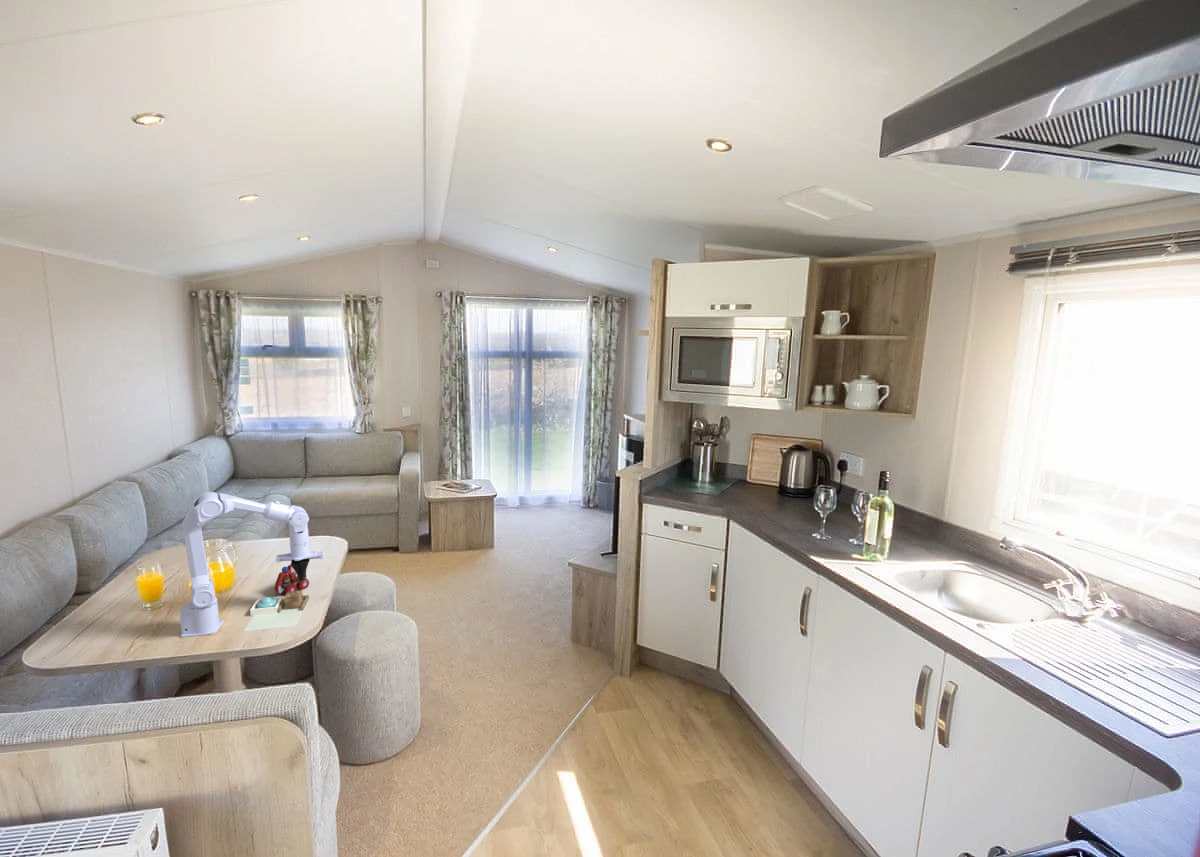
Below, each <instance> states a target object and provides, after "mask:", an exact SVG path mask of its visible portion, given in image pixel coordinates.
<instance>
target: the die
mask: <svg viewBox="0 0 1200 857" xmlns="http://www.w3.org/2000/svg"><path fill="white" fill-rule="evenodd" d="M303 596H304V595H303V590H301V589H300V590H296V591H289V592H287V594H286V593H285V595H284V596H283V599H284V601H285V610H288V609H299V608H300V607H301V605H302V603H303Z"/></svg>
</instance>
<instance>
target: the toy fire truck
mask: <svg viewBox="0 0 1200 857" xmlns="http://www.w3.org/2000/svg"><path fill="white" fill-rule="evenodd" d="M309 585H310V581H309V579H308V578H307V572H306V573H305V579H304V580H303V581H299V578H298V576H297V573H296V572H295V570H294V569H293V567H292V566H291V563H290V564H288V566H283V567H282V568H281V571H280V572H279V573H278V575H277V578H276V582H275V584H274V592H275V593H276V594H279V595H280V594H282V593H285V595H286V594H287V592H289V591H298V589H299V590H300V591H301V590H302V591H303V590H306V589H307V588H309Z"/></svg>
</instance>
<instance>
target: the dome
mask: <svg viewBox="0 0 1200 857" xmlns="http://www.w3.org/2000/svg"><path fill="white" fill-rule="evenodd" d="M275 598H276V597H268V596H266V597H264V598H261V599H262V600H260V601H258V603H257V607H258V608H268V607H275V606H276V604H277V602H276V599H275Z"/></svg>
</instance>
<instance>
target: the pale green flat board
mask: <svg viewBox="0 0 1200 857" xmlns="http://www.w3.org/2000/svg"><path fill="white" fill-rule="evenodd" d="M302 596H303V603H302V605H301V607H300V608H299V609H288V610H285V601H284V596H277V597H274V598H275V599H276V602H277V604H276V606H275V607H268V608H258V607H257V603H258V601H260V600H262V599H263V598H257V600H256V601H255V602H254V604H253V605H252V607H251V608H250V609H249V611H250V612H249V613H250V617H252V618H251V619H250V621H249V622H248V624H247V625H246V626H245V628H244V630H243V632H251V631H261V630H262V631H263V630H271V629H281V628H282V629H283V628H290V627H296V626H297V625H298V622H299V621H300V619H301V616H302V615H303V613H304V611H305V609H306V607H307V605H308V603H309V602H310V599H311V597H310V595H309V594H304V595H302Z"/></svg>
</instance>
